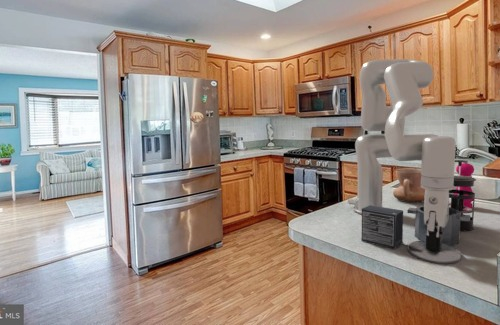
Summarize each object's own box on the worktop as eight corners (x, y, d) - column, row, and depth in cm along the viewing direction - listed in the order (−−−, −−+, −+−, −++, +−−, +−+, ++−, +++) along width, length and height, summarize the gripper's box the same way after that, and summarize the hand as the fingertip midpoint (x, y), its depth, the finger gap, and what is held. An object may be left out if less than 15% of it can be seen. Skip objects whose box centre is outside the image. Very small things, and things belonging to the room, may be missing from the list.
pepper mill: (477, 209, 121) (480, 160, 118) (457, 209, 122) (459, 160, 120) (468, 205, 128) (471, 158, 125) (449, 204, 129) (451, 158, 127)
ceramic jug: (399, 194, 150) (399, 166, 148) (432, 198, 140) (433, 168, 138) (387, 203, 137) (387, 172, 135) (422, 207, 127) (423, 174, 125)
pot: (403, 238, 95) (404, 211, 94) (411, 227, 104) (412, 202, 103) (467, 250, 85) (468, 219, 84) (469, 237, 94) (471, 209, 93)
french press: (444, 219, 111) (447, 157, 108) (476, 225, 104) (480, 159, 101) (436, 228, 103) (439, 161, 100) (470, 234, 96) (474, 163, 93)
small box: (403, 243, 92) (404, 209, 90) (395, 250, 87) (396, 215, 86) (369, 235, 99) (370, 204, 98) (360, 240, 95) (360, 208, 93)
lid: (403, 256, 83) (404, 236, 82) (413, 241, 92) (414, 223, 92) (458, 268, 75) (459, 246, 74) (462, 251, 85) (463, 231, 84)
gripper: (449, 190, 72) (446, 262, 75) (456, 178, 85) (453, 240, 88) (414, 186, 77) (412, 254, 80) (426, 176, 90) (423, 235, 92)
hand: (433, 246), depth 84 cm, fingers closed on lid, 3 cm apart
